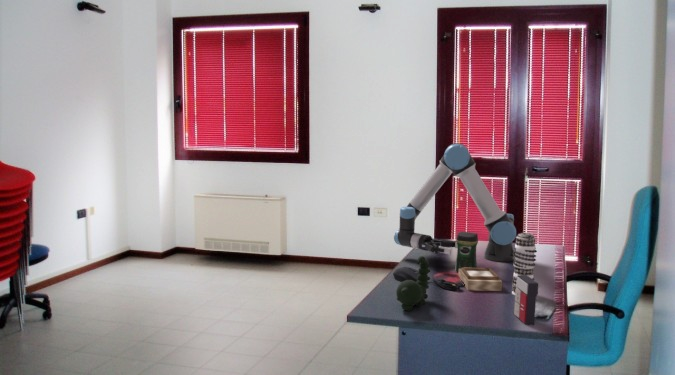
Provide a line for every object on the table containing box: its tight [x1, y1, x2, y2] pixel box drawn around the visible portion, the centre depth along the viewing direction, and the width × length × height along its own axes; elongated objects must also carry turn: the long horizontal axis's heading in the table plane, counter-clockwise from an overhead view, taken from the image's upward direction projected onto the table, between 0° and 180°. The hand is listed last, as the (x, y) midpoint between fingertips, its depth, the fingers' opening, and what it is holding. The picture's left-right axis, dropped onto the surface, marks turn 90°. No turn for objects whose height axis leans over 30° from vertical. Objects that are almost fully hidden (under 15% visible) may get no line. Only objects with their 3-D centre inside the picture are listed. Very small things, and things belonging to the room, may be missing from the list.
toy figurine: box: [396, 255, 431, 312], centre depth 241 cm, size 9×19×25 cm
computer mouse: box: [392, 266, 461, 292], centre depth 273 cm, size 10×32×6 cm, turn 54°
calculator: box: [513, 275, 539, 326], centre depth 228 cm, size 11×4×15 cm, turn 5°
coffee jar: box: [454, 231, 479, 273], centre depth 293 cm, size 10×8×19 cm
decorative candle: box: [511, 232, 538, 296], centre depth 259 cm, size 9×9×25 cm
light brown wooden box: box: [457, 267, 503, 292], centre depth 274 cm, size 14×20×5 cm
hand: (459, 249), depth 295 cm, fingers open, 13 cm apart
